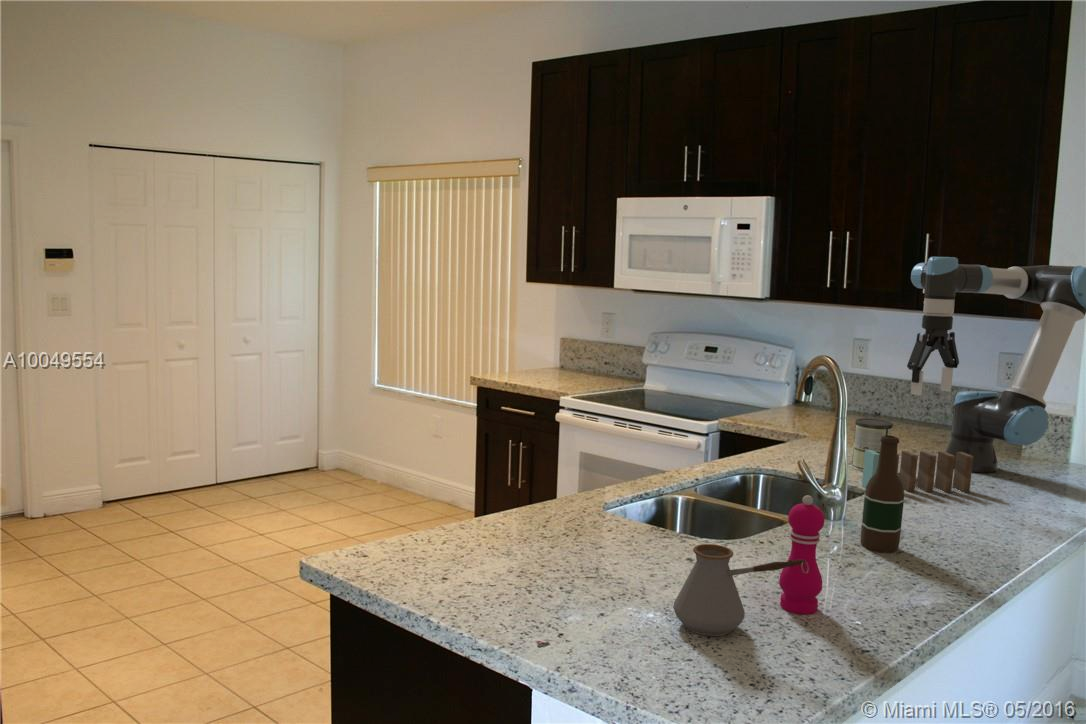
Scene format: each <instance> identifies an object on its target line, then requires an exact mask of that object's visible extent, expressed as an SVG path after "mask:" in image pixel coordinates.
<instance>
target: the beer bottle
mask: <svg viewBox="0 0 1086 724" xmlns="http://www.w3.org/2000/svg"><path fill="white" fill-rule="evenodd" d="M880 441H881V448H880V454H879V460H878V466H877V469H876V473H875V474H874V475H873V476H872V477H871V479H870V480H869V482H868V484H867V486H866V489H865V491H864V497H863V499H864V500H863V509H862V519H861V528H860V529H861V530H860V531H861V532H860V545H861V546H862V547H864V548H865V550H869V551H873V552H875V553H876V552H877V553H885V554H887V553H888V554H889V553H890V554H891V553H892V554H893V553H894V552H896V551H898V550H899V547H900V541H901V534H902V533H901V531H902V524H903V523H902V522H903V511H904V502H905V490H904V489H903V485H902V483H901V481H900V479H899V476H898V473H897V454H898V444H899V443H900V439H899V437H897V436H896V435H892V436H890V435H885V436H882V437H881V439H880Z"/></svg>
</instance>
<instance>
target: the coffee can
mask: <svg viewBox="0 0 1086 724" xmlns="http://www.w3.org/2000/svg"><path fill="white" fill-rule="evenodd" d="M893 427H894V423H893V422H892V421H888V420H884V419H878V418H867V417H866V418H864V417H863V418H857V419H855V427H854V438H853V439H854V440H853V451H852V462H851V468H852V469H853V470H856V471H858V472H862V473H863V468H864V458H865V450H872V451H874V452H877V453H879V454H880V448H881V441H880V439H881V437H882V436H885V435H890V436H893V435H892V433H893Z"/></svg>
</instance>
